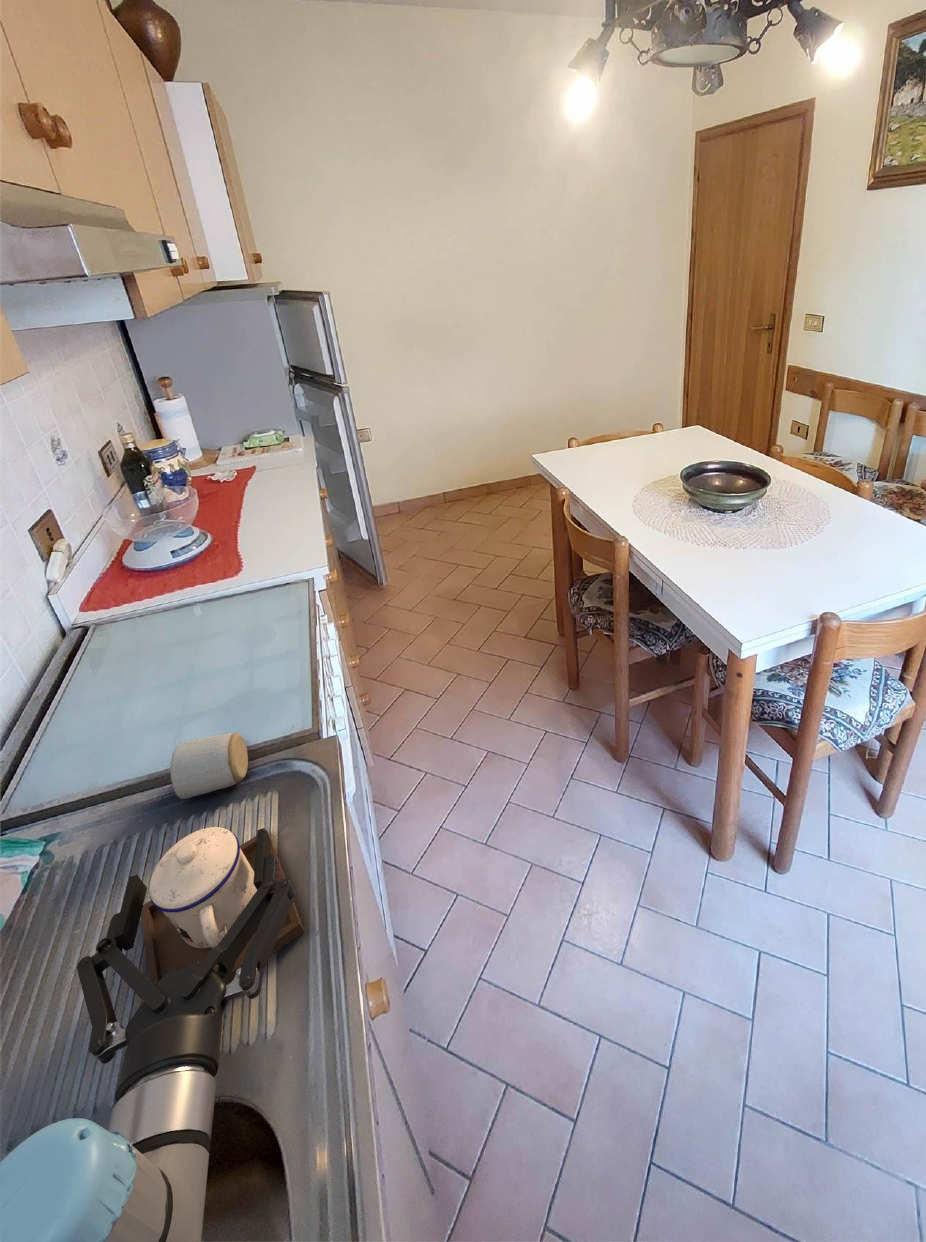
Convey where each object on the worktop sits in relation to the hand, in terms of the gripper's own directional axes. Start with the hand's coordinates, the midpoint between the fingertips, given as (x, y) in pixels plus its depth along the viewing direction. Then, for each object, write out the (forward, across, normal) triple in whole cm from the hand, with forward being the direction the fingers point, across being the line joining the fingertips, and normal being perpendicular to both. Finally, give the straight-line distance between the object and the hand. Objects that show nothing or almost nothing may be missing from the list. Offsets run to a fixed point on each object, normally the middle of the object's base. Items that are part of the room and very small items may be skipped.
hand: (203, 858), depth 67 cm
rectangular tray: (-3, 0, -8) cm, 8 cm away
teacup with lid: (-3, 0, -7) cm, 8 cm away
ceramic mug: (+20, -3, -8) cm, 21 cm away
